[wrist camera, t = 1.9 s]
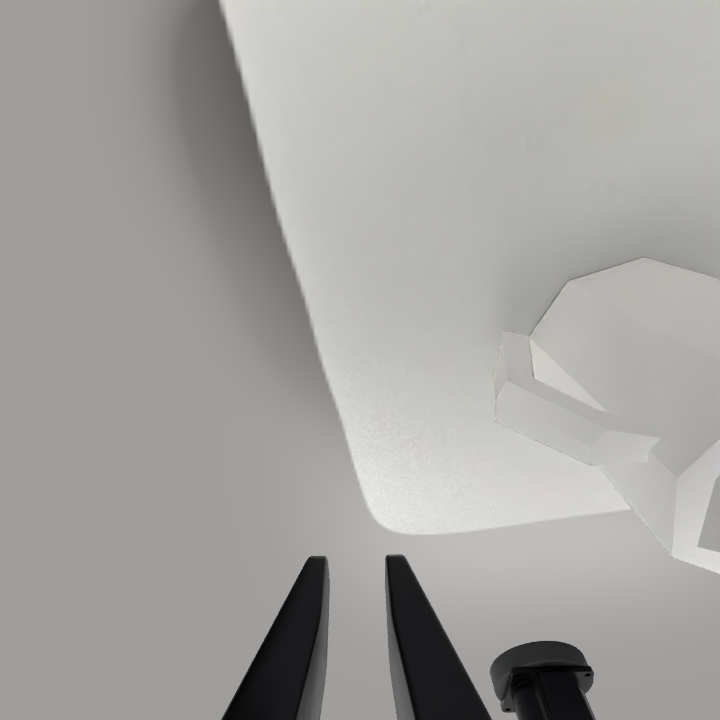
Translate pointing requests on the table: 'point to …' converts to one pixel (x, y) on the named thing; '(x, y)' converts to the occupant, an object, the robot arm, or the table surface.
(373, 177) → the table surface
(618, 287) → the mug
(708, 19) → the table surface
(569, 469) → the table surface
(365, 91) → the table surface
